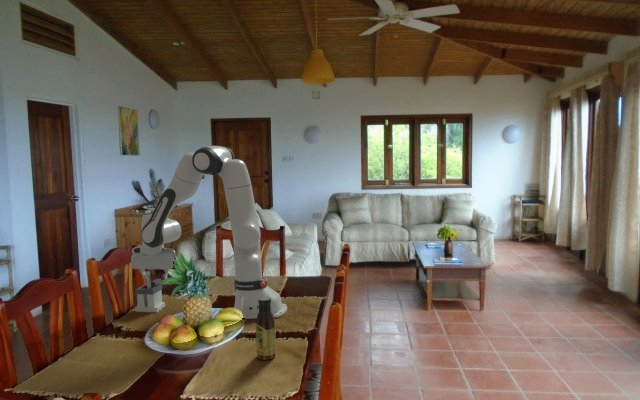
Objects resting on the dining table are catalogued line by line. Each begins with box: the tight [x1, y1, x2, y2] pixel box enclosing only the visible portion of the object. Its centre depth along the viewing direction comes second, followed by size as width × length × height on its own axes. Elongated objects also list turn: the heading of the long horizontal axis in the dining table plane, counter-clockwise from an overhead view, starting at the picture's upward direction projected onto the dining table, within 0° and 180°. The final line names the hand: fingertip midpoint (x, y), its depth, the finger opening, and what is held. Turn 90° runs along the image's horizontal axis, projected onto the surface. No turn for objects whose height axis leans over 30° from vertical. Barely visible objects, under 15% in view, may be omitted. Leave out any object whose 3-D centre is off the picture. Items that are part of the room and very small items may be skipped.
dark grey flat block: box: [134, 278, 163, 295], centre depth 198 cm, size 8×13×3 cm, turn 172°
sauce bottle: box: [255, 296, 277, 361], centre depth 146 cm, size 6×6×20 cm
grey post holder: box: [134, 270, 166, 313], centre depth 196 cm, size 10×7×17 cm
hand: (155, 278), depth 202 cm, fingers open, 8 cm apart
